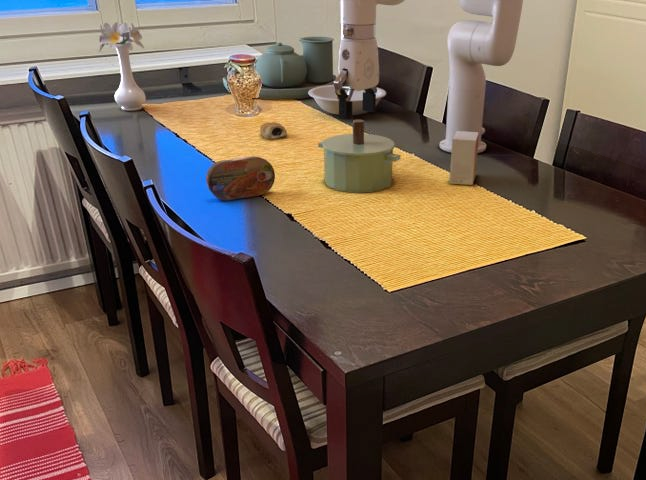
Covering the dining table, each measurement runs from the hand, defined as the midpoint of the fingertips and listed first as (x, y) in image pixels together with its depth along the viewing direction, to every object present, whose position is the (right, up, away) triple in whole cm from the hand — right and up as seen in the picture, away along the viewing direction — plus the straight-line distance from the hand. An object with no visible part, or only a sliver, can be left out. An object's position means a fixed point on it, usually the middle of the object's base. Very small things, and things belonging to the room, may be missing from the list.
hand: (357, 115), depth 166 cm
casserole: (0, -13, +8) cm, 15 cm away
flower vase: (-74, +24, +67) cm, 103 cm away
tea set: (-31, +41, +96) cm, 109 cm away
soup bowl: (-5, +22, +66) cm, 69 cm away
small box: (+25, -12, +11) cm, 30 cm away
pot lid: (0, -6, +4) cm, 7 cm away
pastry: (-25, +8, +42) cm, 50 cm away
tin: (-26, -19, -2) cm, 32 cm away
